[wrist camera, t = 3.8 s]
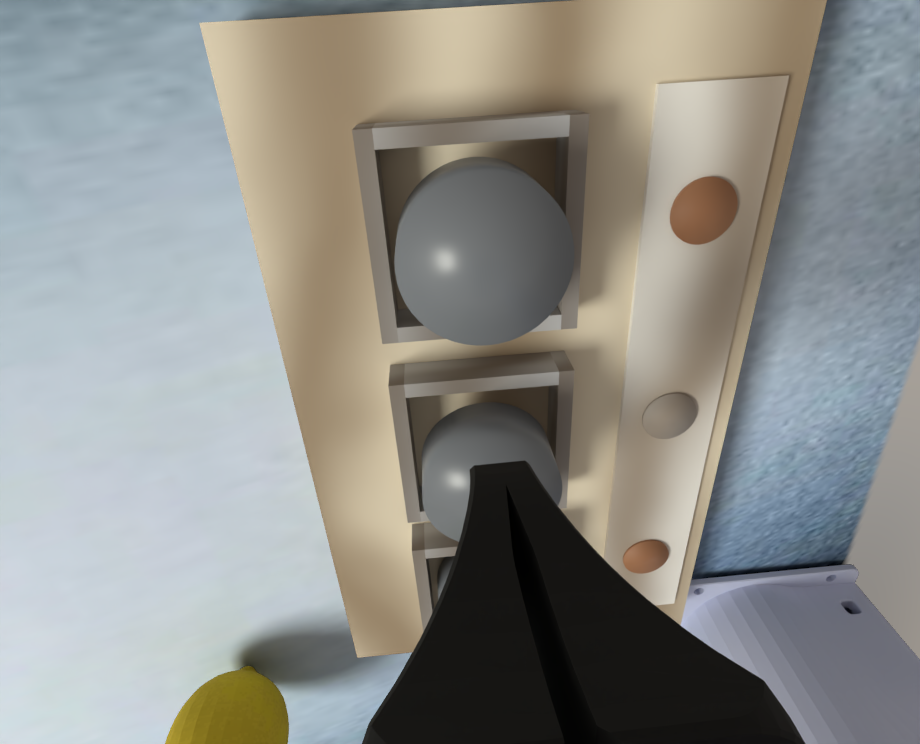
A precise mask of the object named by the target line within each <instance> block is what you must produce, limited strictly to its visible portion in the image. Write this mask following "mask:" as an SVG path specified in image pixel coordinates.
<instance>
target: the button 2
mask: <svg viewBox="0 0 920 744" xmlns="http://www.w3.org/2000/svg"><path fill="white" fill-rule="evenodd" d="M394 264H395V275H396V280H397V285H398V288H399V291H400V294H401V296H402V298H403V300H404V302H405V304H406V305H407V307H408V308H409V310H410V311H411V313H412V314H413V315H414V316H415V317H416V318H417V319H418V321H419V322H421V323H422V324H423V325H424V326H425V327H426V328H428V329H429V330H431V331H432V332H434V333H435V334H437V335H439V336H441V337H443V338H445V339H448V340H450V341H453V342H457V343H461V344H466V345H476V346H483V345H494V344H500V343H504V342H508V341H511V340H513V339H516V338H518V337H521V336H523V335H524V334H526V333H528V332H530V331H531V330H533V329H534V328H536V327H537V326H539V325H540V324H541V323H542V322H543V321H544V320H545V319H547V318H548V316H549V315H550V314H551V313H552V312H553V311H554V310H555V308H556V307H557V306H558V304H559V303H560V301H561V300H562V298H563V296H564V294H565V292H566V290H567V288H568V285H569V283H570V280H571V276H572V272H573V266H574V242H573V235H572V232H571V229H570V225H569V223H568V221H567V218H566V216H565V214H564V212H563V211H562V209H561V208H560V206H559V205H558V203H557V202H556V201H555V200H554V199H553V197H552V196H551V195H550V194H549V193H548V192H547V191H546V190H545V189H544V188H543V187H542V186H541V185H540V184H539V183H538V182H537V181H536V180H534V179H533V178H532V177H531V176H530V175H529V174H528V173H526V172H525V171H524V170H522V169H521V168H519V167H517V166H516V165H513V164H511V163H509V162H507V161H503V160H500V159H497V158H490V157H468V158H462V159H458V160H455V161H451V162H449V163H447V164H445V165H442V166H440V167H439V168H437V169H436V170H434V171H432V172H431V173H430V174H428V175H427V176H426V177H425V178H424V179H422V181H421V182H420V183H419V184H418V185H417V186H416V187H415V188H414V190H413V191H412V193H411V194H410V195H409V197H408V199H407V201H406V203H405V205H404V207H403V209H402V212H401V215H400V218H399V223H398V228H397V238H396V247H395V258H394Z"/></svg>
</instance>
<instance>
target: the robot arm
mask: <svg viewBox="0 0 920 744" xmlns="http://www.w3.org/2000/svg"><path fill="white" fill-rule="evenodd" d="M858 575H859V572H858V570H857V569H856V568H855V567H854V566H853V565H851V564H845V565H835V566H825V567H815V568H805V569H795V570H785V571H774V572H764V573H754V574H744V575H734V576H724V577H714V578H704V579H693V580H691V583H690V587H689V591H688V595H687V600H686V604H685V608H684V612H683V617H682V621H681V625H679V624H678V623H677V622H676V621H674V620H673V619H672V618H670V617H669V616H668V615H667V614H665V613H664V612H663V611H662V610H660V609H659V608H658V607H656V606H655V605H654V604H653V603H651V602H650V601H649V600H648V599H646V598H645V597H644V596H643V595H642V594H641V593H640V592H638V591H637V590H636V589H635V588H634V587H633V586H632V585H631V584H629V583H628V582H627V581H626V580H625V579H624V578H623V577H622V576H621V575H620V574H619V573H618V572H617V571H615V570H614V569H613V568H612V567H611V566H610V565H609V564H608V563H607V562H606V561H605V560H604V559H603V558H602V557H601V556H600V555H599V553H598V552H597V551H596V550H595V549H594V548H593V547H592V546H591V545H590V544H589V543H588V542H587V540H586V539H585V538H584V537H583V536H582V535H581V534H580V533H579V531H578V530H577V529H576V528H575V527H574V526H573V524H572V523H571V522H570V521H569V519H568V518H567V517H566V516H565V514H564V513H563V512H562V511H561V509H560V508H559V507H558V506H557V504H556V503H555V502H554V500H553V499H552V498H551V496H550V495H549V493H548V492H547V491H546V489H545V488H544V486H543V485H542V483H541V482H540V480H539V479H538V477H537V476H536V474H535V472H534V471H533V469H532V467H531V466H530V464H529V463H528V462H526V461H525V460H524V461H514V462H504V463H494V464H484V465H474V466H473V467H472V468H471V469H470V492H469V500H468V506H467V511H466V516H465V520H464V524H463V529H462V533H461V537H460V540H459V543H458V547H457V550H456V553H455V556H454V560H453V563H452V566H451V569H450V571H449V574H448V577H447V580H446V582H445V585H444V587H443V590H442V592H441V595H440V597H439V599H438V602H437V604H436V606H435V608H434V611H433V613H432V615H431V617H430V619H429V621H428V624H427V626H426V628H425V630H424V632H423V634H422V636H421V638H420V640H419V642H418V643H417V645H416V647H415V649H414V651H413V652H412V654H411V656H410V658H409V660H408V661H407V663H406V665H405V667H404V669H403V670H402V672H401V674H400V676H399V677H398V679H397V681H396V682H395V684H394V686H393V687H392V689H391V690H390V692H389V693H388V695H387V696H386V698H385V699H384V701H383V702H382V704H381V706H380V707H379V709H378V710H377V712H376V713H375V715H374V716H373V718H372V719H371V721H370V723H369V725H368V728H367V731H366V734H365V737H364V740H363V743H362V744H920V659H919V658H918V657H917V656H916V655H915V653H914V652H913V651H912V650H911V649H910V647H909V646H908V645H907V644H906V643H905V641H904V640H903V639H902V638H901V637H900V636H899V634H898V633H897V632H896V631H895V630H894V629H893V627H892V626H891V625H890V624H889V623H888V621H887V620H886V619H885V618H884V617H883V615H881V613H880V612H879V611H878V610H877V608H876V607H875V606H874V605H873V604H872V603H871V601H870V600H869V599H868V598H867V597H866V595H865V594H864V593H863V592H862V591H861V590H860V588H859V587H858V586H857V585H856V584H855V582H856V579H857V577H858Z"/></svg>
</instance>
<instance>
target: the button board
mask: <svg viewBox="0 0 920 744" xmlns="http://www.w3.org/2000/svg"><path fill="white" fill-rule="evenodd" d="M826 2H827V0H572V1H556V2H539V3H523V4H506V5H490V6H473V7H456V8H440V9H423V10H407V11H390V12H373V13H357V14H340V15H324V16H307V17H291V18H274V19H257V20H241V21H224V22H208V23H200V27H201V31H202V35H203V39H204V43H205V47H206V51H207V55H208V59H209V63H210V67H211V71H212V75H213V79H214V83H215V87H216V91H217V95H218V99H219V103H220V107H221V111H222V115H223V120H224V124H225V128H226V132H227V136H228V140H229V144H230V148H231V152H232V156H233V160H234V164H235V168H236V172H237V176H238V180H239V184H240V188H241V192H242V196H243V200H244V204H245V208H246V212H247V216H248V220H249V224H250V228H251V232H252V236H253V240H254V244H255V248H256V252H257V256H258V260H259V264H260V268H261V272H262V276H263V280H264V284H265V288H266V292H267V296H268V300H269V304H270V308H271V312H272V317H273V321H274V325H275V329H276V333H277V337H278V341H279V345H280V349H281V353H282V357H283V361H284V365H285V369H286V373H287V377H288V381H289V385H290V389H291V393H292V397H293V401H294V405H295V409H296V413H297V417H298V421H299V425H300V429H301V433H302V437H303V441H304V445H305V449H306V453H307V457H308V461H309V465H310V469H311V473H312V477H313V481H314V485H315V489H316V493H317V497H318V501H319V505H320V510H321V514H322V518H323V522H324V526H325V530H326V534H327V538H328V542H329V546H330V550H331V554H332V558H333V562H334V566H335V570H336V574H337V578H338V582H339V586H340V590H341V594H342V598H343V602H344V606H345V610H346V614H347V618H348V622H349V626H350V630H351V634H352V638H353V642H354V646H355V650H356V654H357V658H360V657H370V656H380V655H390V654H399V653H409V652H413V651H414V649H415V647H416V645H417V643H418V642H419V640H420V638H421V636H422V634H423V632H424V630H425V628H426V626H427V624H428V621H429V619H430V617H431V615H432V613H433V611H434V608H435V606H436V604H437V602H438V584H437V573H438V569H439V566H440V564H441V563H442V561H443V560H444V558H445V557H449V556H455V553H456V550H457V547H458V543H459V542H458V541H456V540H453V539H451V538H449V537H447V536H445V535H444V534H442V533H441V532H440V531H439V530H437V529H436V528H435V527H434V526H433V524H432V523H431V522H430V521H429V519H428V517H427V515H426V513H425V510H424V507H423V499H422V449H423V445H424V442H425V440H426V438H427V436H428V434H429V432H430V431H431V429H432V428H433V427H434V426H435V425H436V424H437V423H438V422H439V421H440V420H441V419H442V418H443V417H445V416H446V415H448V414H449V413H451V412H453V411H455V410H457V409H459V408H462V407H465V406H468V405H472V404H476V403H483V402H496V403H504V404H509V405H512V406H515V407H518V408H520V409H522V410H524V411H526V412H527V413H529V414H530V415H532V416H533V417H534V418H535V419H536V420H537V421H538V422H539V423H540V424H541V426H542V428H543V429H544V431H545V433H546V436H547V438H548V441H549V444H550V447H551V450H552V453H553V455H554V458H555V461H556V464H557V467H558V470H559V472H560V475H561V480H562V496H561V500H560V503H559V505H558V507H559V508H560V509H561V511H562V512H563V513H564V514H565V516H566V517H567V518H568V519H569V521H570V522H571V523H572V524H573V526H574V527H575V528H576V529H577V530H578V531H579V533H580V534H581V535H582V536H583V537H584V538H585V539H586V540H587V542H588V543H589V544H590V545H591V546H592V547H593V548H594V549H595V550H596V551H597V552H598V553H599V555H600V556H601V557H602V558H603V559H604V560H605V561H606V562H607V563H608V564H609V565H610V566H611V567H612V568H613V569H614V570H615V571H617V572H618V573H619V574H620V575H621V576H622V577H623V578H624V579H625V580H626V581H627V582H628V583H629V584H631V585H632V586H633V587H634V588H635V589H636V590H637V591H638V592H640V593H641V594H642V595H643V596H644V597H645V598H646V599H648V600H649V601H650V602H651V603H653V604H654V605H655V606H656V607H658V608H659V609H660V610H662V611H663V612H664V613H665V614H667V615H668V616H669V617H670V618H672V619H673V620H674V621H676V622H677V623H678V624H679V625H681V621H682V617H683V612H684V608H685V604H686V600H687V595H688V591H689V587H690V583H691V578H692V574H693V570H694V565H695V561H696V557H697V553H698V548H699V544H700V540H701V536H702V531H703V527H704V523H705V519H706V514H707V510H708V506H709V501H710V497H711V493H712V489H713V484H714V480H715V476H716V472H717V467H718V463H719V459H720V455H721V450H722V446H723V442H724V437H725V433H726V429H727V425H728V420H729V416H730V412H731V408H732V403H733V399H734V395H735V391H736V386H737V382H738V378H739V373H740V369H741V365H742V361H743V356H744V352H745V348H746V344H747V339H748V335H749V331H750V327H751V322H752V318H753V314H754V309H755V305H756V301H757V297H758V292H759V288H760V284H761V280H762V275H763V271H764V267H765V263H766V258H767V254H768V250H769V245H770V241H771V237H772V233H773V228H774V224H775V220H776V216H777V211H778V207H779V203H780V199H781V194H782V190H783V186H784V181H785V177H786V173H787V169H788V164H789V160H790V156H791V152H792V147H793V143H794V139H795V135H796V130H797V126H798V122H799V117H800V113H801V109H802V105H803V100H804V96H805V92H806V88H807V83H808V79H809V75H810V71H811V66H812V62H813V58H814V53H815V49H816V45H817V41H818V36H819V32H820V28H821V24H822V19H823V15H824V11H825V7H826ZM468 157H490V158H497V159H500V160H503V161H507V162H509V163H511V164H513V165H516V166H517V167H519V168H521V169H522V170H524V171H525V172H526V173H528V174H529V175H530V176H531V177H532V178H533V179H534V180H536V181H537V182H538V183H539V184H540V185H541V186H542V187H543V188H544V189H545V190H546V191H547V192H548V193H549V194H550V195H551V196H552V197H553V199H554V200H555V201H556V202H557V203H558V205H559V206H560V208H561V209H562V211H563V212H564V214H565V216H566V218H567V221H568V223H569V225H570V229H571V232H572V235H573V242H574V266H573V272H572V276H571V280H570V283H569V285H568V288H567V290H566V292H565V294H564V296H563V298H562V300H561V301H560V303H559V304H558V306H557V307H556V308H555V310H554V311H553V312H552V313H551V314H550V315H549V316H548V318H547V319H545V320H544V321H543V322H542V323H541V324H540V325H539V326H537V327H536V328H534V329H533V330H531V331H530V332H528V333H526V334H524V335H523V336H521V337H518V338H516V339H513V340H511V341H508V342H504V343H500V344H494V345H483V346H476V345H466V344H461V343H457V342H453V341H450V340H448V339H445V338H443V337H441V336H439V335H437V334H435V333H434V332H432V331H431V330H429V329H428V328H426V327H425V326H424V325H423V324H422V323H421V322H419V321H418V319H417V318H416V317H415V316H414V315H413V314H412V313H411V311H410V310H409V308H408V307H407V305H406V304H405V302H404V300H403V298H402V296H401V294H400V291H399V288H398V285H397V280H396V275H395V264H394V258H395V247H396V238H397V228H398V223H399V218H400V215H401V212H402V209H403V207H404V205H405V203H406V201H407V199H408V197H409V195H410V194H411V193H412V191H413V190H414V188H415V187H416V186H417V185H418V184H419V183H420V182H421V181H422V179H424V178H425V177H426V176H427V175H428V174H430V173H431V172H432V171H434V170H436V169H437V168H439V167H440V166H442V165H445V164H447V163H449V162H451V161H455V160H458V159H462V158H468Z"/></svg>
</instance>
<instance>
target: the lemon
mask: <svg viewBox="0 0 920 744" xmlns="http://www.w3.org/2000/svg"><path fill="white" fill-rule="evenodd" d="M288 734H289V722H288V714H287V709H286V704H285V701H284V698H283V696H282V694H281V693H280V691H279V690H278V688H277V687H276V685H275V684H274V683H273V682H272V681H270V680H269V679H268V678H267V677H265V676H263V675H261V674H259V673H257V671H256V670H255V669H254V668H253V667H251V666H245V667H243V668H241V669H240V670H237V671H231V672H227V673H224V674H221V675H218V676H217V677H215V678H213V679H211V680H210V681H208V682H206V683H205V684H204V685H202V686H201V687H200V688H199V689H198V690H197V691H196V692H195V693H194V694H193V695H192V696H191V697H190V698H189V699H188V701H187V702H186V703H185V704H184V706H183V707H182V709H181V710H180V712H179V713H178V715H177V717H176V719H175V720H174V723H173V725H172V727H171V729H170V732H169V734H168V737H167V740H166V743H165V744H287V743H288Z"/></svg>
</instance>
